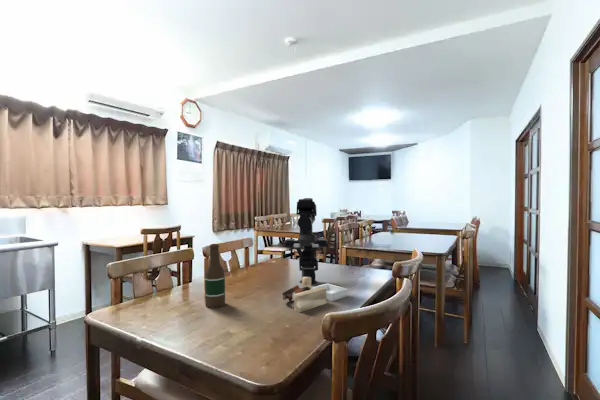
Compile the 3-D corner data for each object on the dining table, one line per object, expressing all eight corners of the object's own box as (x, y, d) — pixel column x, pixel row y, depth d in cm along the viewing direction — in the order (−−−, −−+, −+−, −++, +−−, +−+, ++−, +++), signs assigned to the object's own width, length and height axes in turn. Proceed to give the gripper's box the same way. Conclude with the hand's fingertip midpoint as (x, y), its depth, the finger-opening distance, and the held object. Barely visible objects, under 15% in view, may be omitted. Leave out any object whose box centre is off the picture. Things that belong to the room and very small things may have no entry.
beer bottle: (229, 302, 126) (228, 243, 125) (218, 309, 118) (217, 246, 118) (212, 300, 128) (211, 242, 128) (201, 307, 121) (199, 245, 121)
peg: (300, 291, 139) (300, 277, 139) (307, 289, 142) (307, 276, 142) (306, 293, 136) (306, 279, 136) (313, 291, 139) (313, 277, 139)
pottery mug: (294, 312, 116) (284, 291, 118) (285, 315, 123) (276, 296, 125) (319, 297, 122) (309, 278, 124) (309, 301, 130) (300, 283, 132)
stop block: (294, 310, 116) (294, 294, 116) (321, 301, 125) (320, 286, 125) (299, 312, 114) (299, 296, 114) (326, 303, 123) (326, 288, 123)
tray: (311, 294, 134) (311, 287, 134) (327, 289, 140) (327, 283, 140) (331, 301, 125) (331, 294, 125) (348, 296, 131) (348, 289, 131)
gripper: (282, 229, 131) (283, 266, 131) (327, 229, 130) (327, 266, 130) (286, 226, 142) (286, 260, 143) (326, 226, 141) (327, 260, 141)
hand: (306, 262), depth 139 cm, fingers open, 4 cm apart
